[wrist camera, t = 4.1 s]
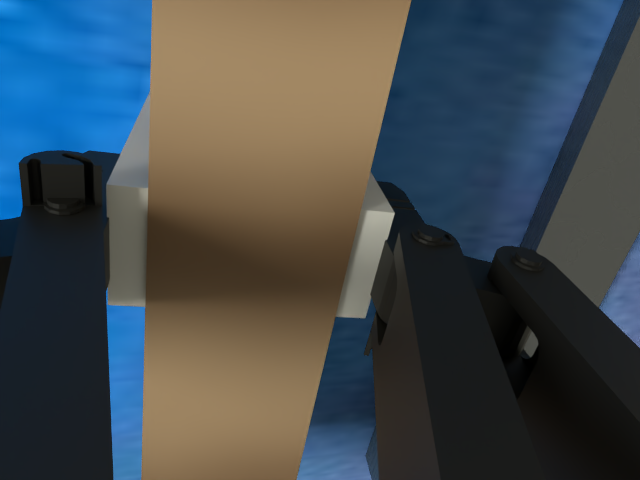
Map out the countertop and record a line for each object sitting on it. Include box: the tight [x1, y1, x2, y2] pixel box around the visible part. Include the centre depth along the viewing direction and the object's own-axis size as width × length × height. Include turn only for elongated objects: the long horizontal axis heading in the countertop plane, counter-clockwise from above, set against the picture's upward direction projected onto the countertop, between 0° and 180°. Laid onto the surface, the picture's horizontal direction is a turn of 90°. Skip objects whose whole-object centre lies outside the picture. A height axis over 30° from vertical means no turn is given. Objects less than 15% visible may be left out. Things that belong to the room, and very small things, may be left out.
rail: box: [141, 0, 411, 480], centre depth 14 cm, size 28×4×8 cm, turn 170°
